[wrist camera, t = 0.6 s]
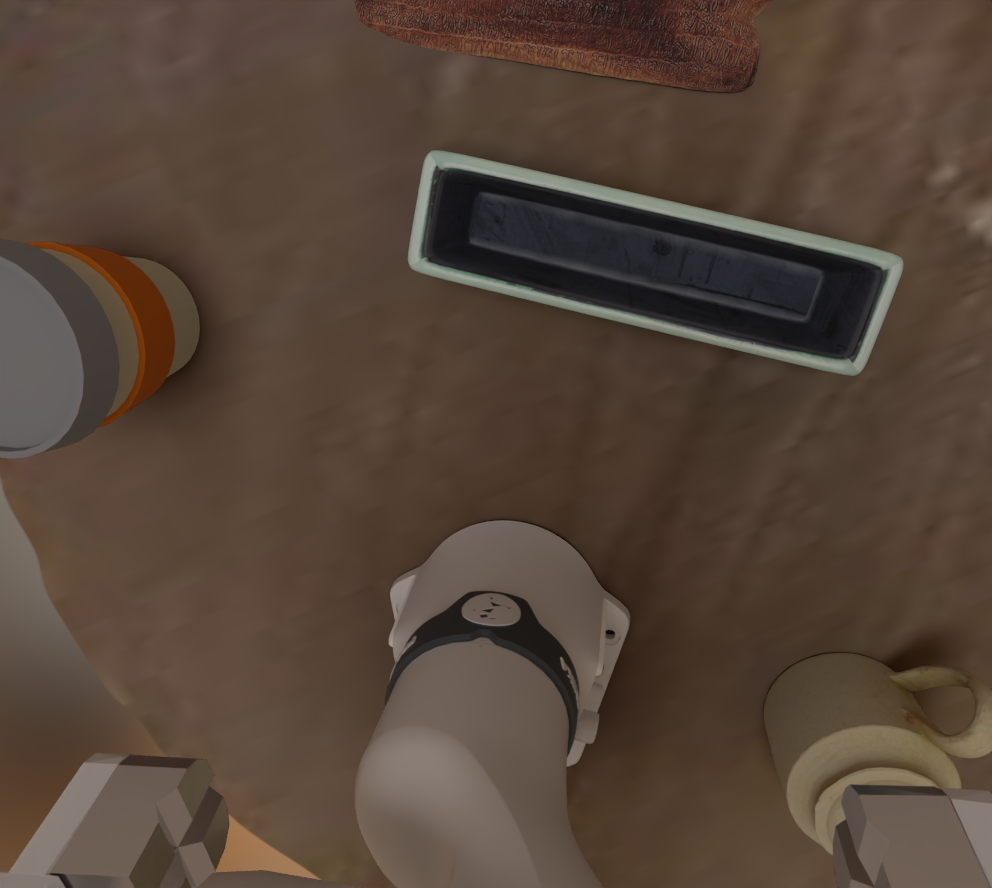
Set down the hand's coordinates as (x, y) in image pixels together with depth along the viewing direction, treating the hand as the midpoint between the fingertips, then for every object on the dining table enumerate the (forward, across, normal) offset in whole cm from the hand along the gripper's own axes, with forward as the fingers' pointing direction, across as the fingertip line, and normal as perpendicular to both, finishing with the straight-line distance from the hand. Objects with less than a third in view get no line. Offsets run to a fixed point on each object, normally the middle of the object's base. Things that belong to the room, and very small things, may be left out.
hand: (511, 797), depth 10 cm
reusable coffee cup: (+44, -32, -8) cm, 55 cm away
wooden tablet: (+48, -1, +11) cm, 49 cm away
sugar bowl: (+36, +19, -38) cm, 56 cm away
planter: (+44, +4, -6) cm, 44 cm away
